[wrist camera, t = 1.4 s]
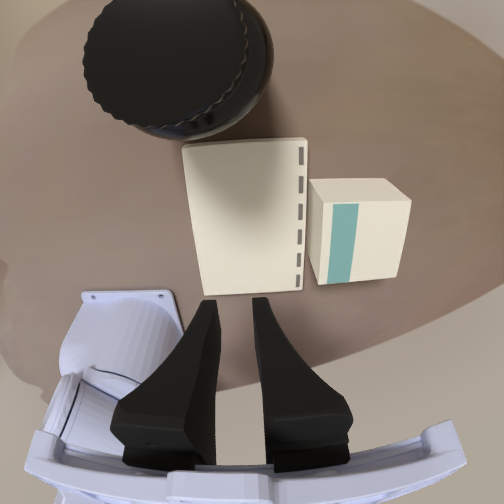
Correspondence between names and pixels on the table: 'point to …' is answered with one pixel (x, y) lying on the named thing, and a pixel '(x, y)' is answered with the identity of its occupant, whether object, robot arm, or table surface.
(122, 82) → the supplement bottle
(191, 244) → the table surface
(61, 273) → the table surface
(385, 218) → the teal striped cube
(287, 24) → the table surface
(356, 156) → the table surface
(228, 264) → the ticket
